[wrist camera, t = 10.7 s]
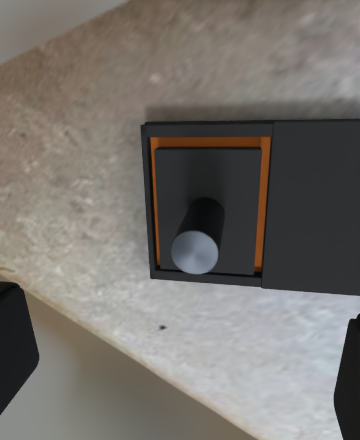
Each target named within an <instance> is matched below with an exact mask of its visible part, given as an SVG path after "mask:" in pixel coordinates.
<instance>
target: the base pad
mask: <svg viewBox="0 0 360 440" xmlns="http://www.w3.org/2000/svg"><path fill="white" fill-rule="evenodd" d="M141 140H142V156H143V171H144V187H145V202H146V218H147V233H148V249H149V264H150V279H160V280H174V281H187V282H200V283H213V284H227V285H240V286H253V287H261V288H264V289H277V290H290V291H303V292H316V293H329V294H342V295H356V296H360V119H322V120H250V121H178V122H146V123H145V124H144V125H141ZM158 147H261V149H262V159H261V174H260V190H259V205H258V221H257V236H256V252H255V267H254V275H246V274H232V273H217V272H207V273H204V274H200V275H193V274H188V273H185V272H183V271H182V270H174V269H161V268H160V253H159V233H158V214H157V195H156V175H155V156H154V149H156V148H158Z"/></svg>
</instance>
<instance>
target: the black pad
mask: <svg viewBox="0 0 360 440" xmlns="http://www.w3.org/2000/svg"><path fill="white" fill-rule="evenodd" d="M154 156H155V175H156V195H157V214H158V233H159V253H160V268H161V269H174V270H182V271H183V272H185V273H188V274H193V275H200V274H204V273H207V272H217V273H232V274H246V275H254V267H255V252H256V236H257V221H258V205H259V190H260V174H261V159H262V149H261V147H158V148H156V149H154Z"/></svg>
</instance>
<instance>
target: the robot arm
mask: <svg viewBox="0 0 360 440" xmlns="http://www.w3.org/2000/svg"><path fill="white" fill-rule="evenodd" d="M38 361H39V352H38V348H37V344H36V340H35V336H34V331H33V327H32V323H31V319H30V315H29V311H28V306H27V302H26V299H25V294H24V291H23V289H21V288H20V286H19V285H18V284H17V283H13V282H1V281H0V415H1V413H2V412H3V411H4V409H5V408H6V407H7V405H8V404H9V403H10V402H11V400H12V399H13V398H14V396H15V395H16V394H17V392H18V391H19V390H20V388H21V387H22V386H23V384H24V383H25V382H26V380H27V379H28V378H29V376H30V375H31V374H32V372H33V371H34V370H35V368H36V367H37V365H38ZM334 408H335V412H336V416H337V419H338V423H339V426H340V430H341V433H342V437H343V440H360V314H358V316H357V318H356V319H350V320H349V324H348V328H347V333H346V338H345V343H344V348H343V353H342V358H341V362H340V367H339V372H338V377H337V382H336V387H335V392H334Z"/></svg>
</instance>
